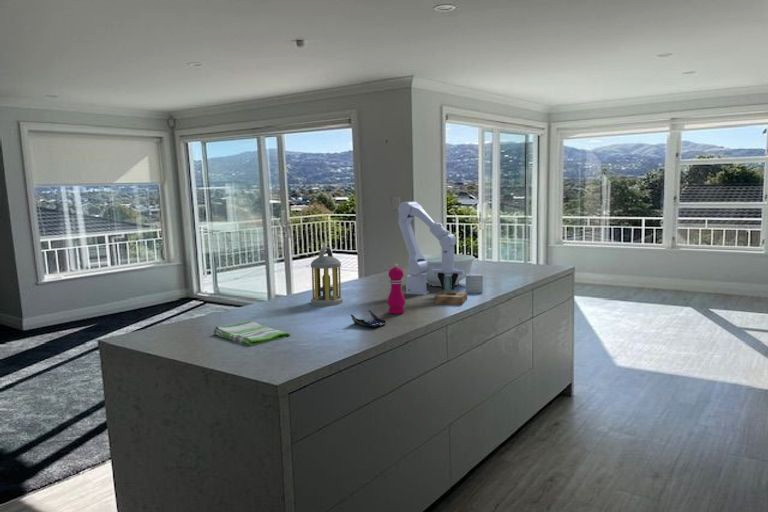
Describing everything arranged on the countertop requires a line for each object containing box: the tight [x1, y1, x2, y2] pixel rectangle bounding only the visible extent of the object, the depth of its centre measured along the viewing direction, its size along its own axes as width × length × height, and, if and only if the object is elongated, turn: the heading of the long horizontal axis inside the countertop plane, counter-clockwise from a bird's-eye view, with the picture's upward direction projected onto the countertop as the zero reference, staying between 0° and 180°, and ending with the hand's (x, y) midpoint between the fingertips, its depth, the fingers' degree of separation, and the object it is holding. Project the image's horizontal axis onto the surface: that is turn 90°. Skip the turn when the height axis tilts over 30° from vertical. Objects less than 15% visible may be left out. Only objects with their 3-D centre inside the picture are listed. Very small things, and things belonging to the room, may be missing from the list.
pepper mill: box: [386, 263, 406, 315], centre depth 223 cm, size 7×7×20 cm
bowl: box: [422, 253, 476, 287], centre depth 286 cm, size 32×32×15 cm
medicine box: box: [465, 273, 484, 294], centre depth 263 cm, size 8×4×9 cm, turn 84°
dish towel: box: [212, 320, 291, 347], centre depth 192 cm, size 17×23×4 cm
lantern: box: [310, 246, 344, 307], centre depth 245 cm, size 14×14×25 cm
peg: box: [444, 276, 452, 292], centre depth 255 cm, size 3×3×9 cm
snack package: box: [350, 309, 387, 328], centre depth 204 cm, size 12×6×12 cm
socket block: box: [434, 290, 468, 306], centre depth 243 cm, size 12×12×4 cm
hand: (448, 289), depth 255 cm, fingers open, 4 cm apart
